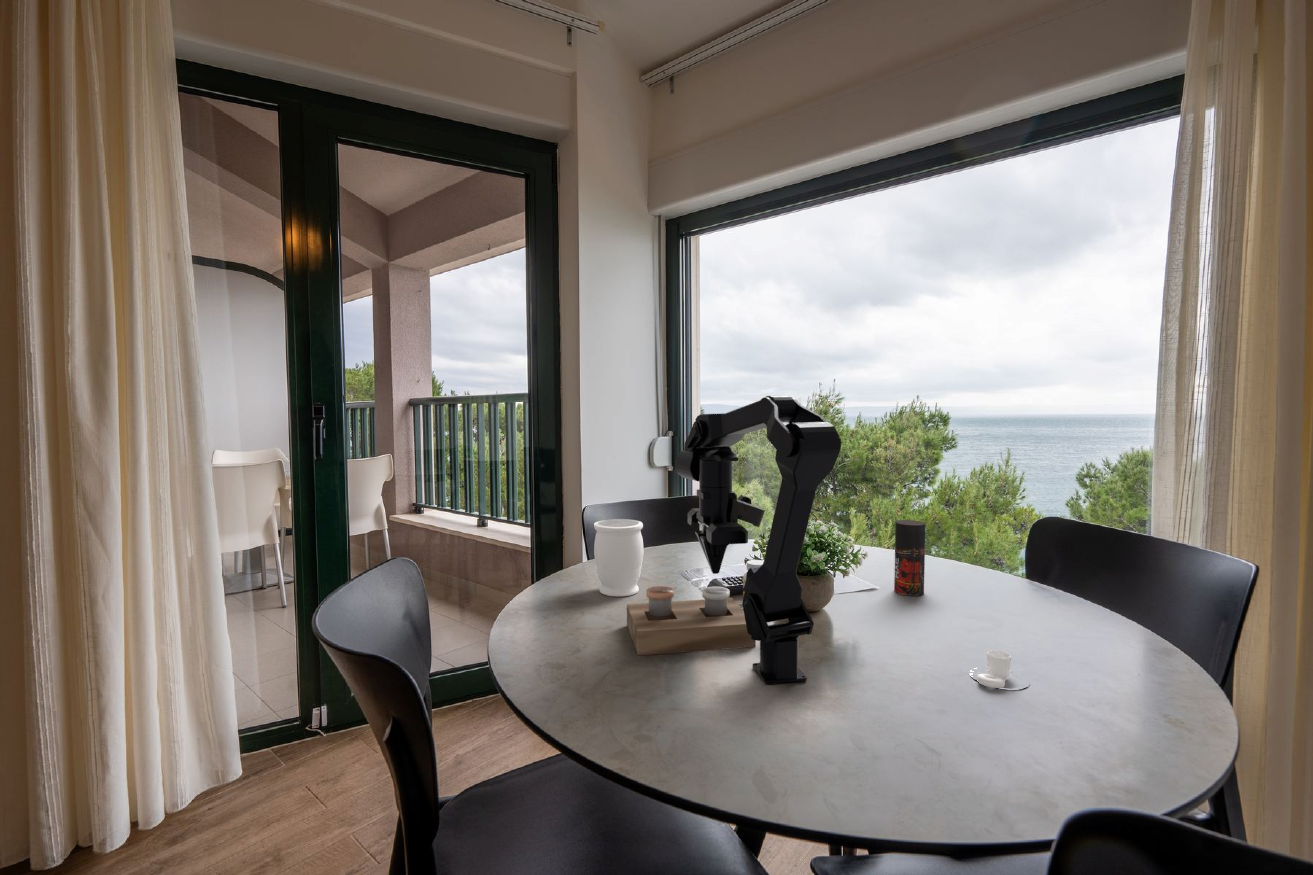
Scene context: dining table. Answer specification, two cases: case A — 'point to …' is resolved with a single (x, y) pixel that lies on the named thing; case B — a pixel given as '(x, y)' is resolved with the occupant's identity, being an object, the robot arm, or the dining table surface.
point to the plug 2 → (715, 600)
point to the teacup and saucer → (995, 669)
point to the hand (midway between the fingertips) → (715, 573)
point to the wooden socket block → (687, 628)
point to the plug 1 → (660, 600)
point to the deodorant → (909, 557)
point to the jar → (618, 556)
